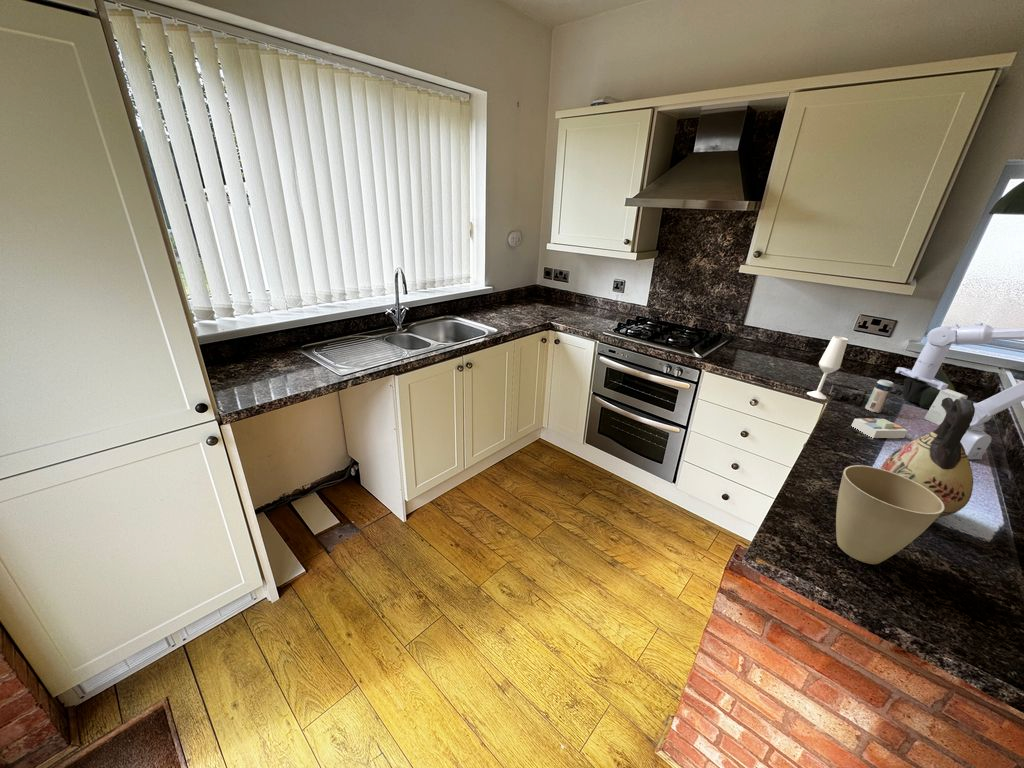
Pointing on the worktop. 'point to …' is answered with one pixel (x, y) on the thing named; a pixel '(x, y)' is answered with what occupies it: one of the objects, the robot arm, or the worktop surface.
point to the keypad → (877, 433)
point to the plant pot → (881, 513)
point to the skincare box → (936, 410)
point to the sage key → (885, 423)
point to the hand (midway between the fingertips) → (908, 400)
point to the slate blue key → (874, 425)
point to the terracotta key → (896, 426)
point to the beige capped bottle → (879, 395)
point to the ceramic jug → (940, 458)
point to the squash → (931, 391)
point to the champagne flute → (830, 361)
